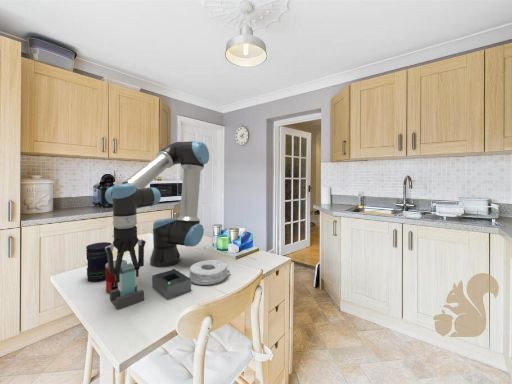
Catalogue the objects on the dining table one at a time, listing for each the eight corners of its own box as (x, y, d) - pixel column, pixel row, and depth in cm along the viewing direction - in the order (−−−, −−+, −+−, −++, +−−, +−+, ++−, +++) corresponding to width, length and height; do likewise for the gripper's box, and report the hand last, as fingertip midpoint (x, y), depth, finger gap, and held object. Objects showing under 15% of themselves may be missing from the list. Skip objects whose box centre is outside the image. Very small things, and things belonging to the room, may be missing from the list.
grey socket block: (152, 287, 101) (152, 273, 101) (174, 279, 108) (174, 267, 108) (167, 299, 91) (167, 284, 91) (191, 290, 99) (191, 276, 98)
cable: (232, 272, 118) (232, 260, 118) (219, 289, 101) (219, 275, 101) (199, 269, 122) (199, 257, 121) (181, 284, 105) (181, 270, 104)
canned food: (112, 295, 94) (111, 268, 93) (102, 290, 98) (101, 263, 97) (131, 288, 100) (131, 262, 99) (121, 283, 104) (120, 258, 103)
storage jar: (83, 283, 103) (81, 249, 102) (92, 274, 113) (90, 242, 112) (109, 281, 106) (108, 247, 105) (115, 272, 115) (115, 241, 114)
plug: (120, 296, 91) (118, 265, 90) (131, 293, 94) (130, 263, 93) (123, 301, 88) (122, 269, 87) (135, 297, 91) (134, 266, 90)
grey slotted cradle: (110, 300, 91) (109, 291, 90) (135, 291, 97) (135, 283, 97) (117, 309, 84) (117, 300, 84) (144, 300, 91) (144, 291, 90)
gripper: (101, 232, 80) (103, 300, 82) (153, 224, 92) (154, 283, 94) (95, 228, 85) (98, 292, 87) (145, 221, 97) (146, 277, 99)
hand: (127, 287), depth 90 cm, fingers closed on plug, 4 cm apart
